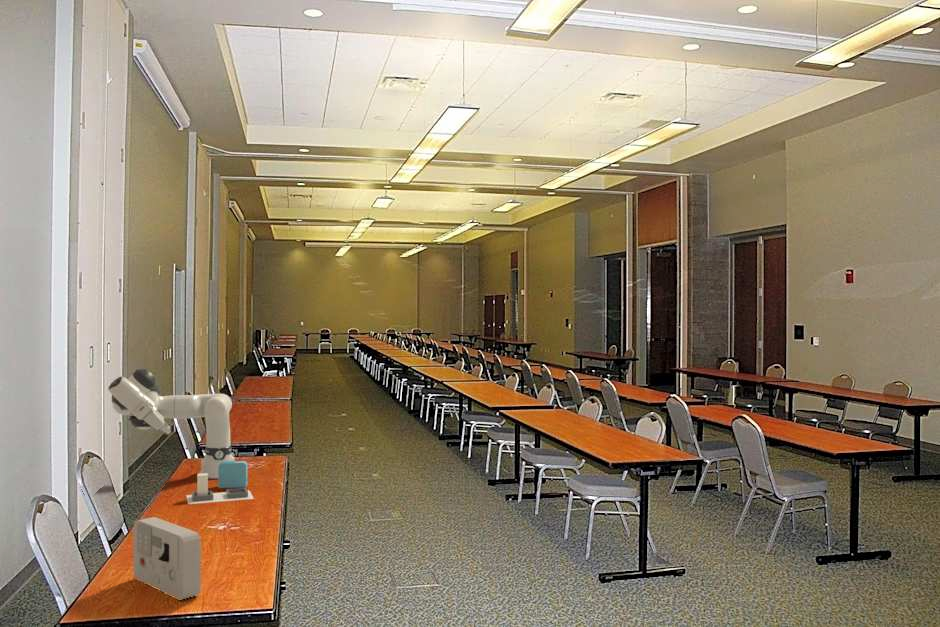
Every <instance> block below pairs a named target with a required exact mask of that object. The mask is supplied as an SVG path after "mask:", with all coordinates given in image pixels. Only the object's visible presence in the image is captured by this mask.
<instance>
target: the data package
mask: <svg viewBox="0 0 940 627" xmlns="http://www.w3.org/2000/svg"><path fill="white" fill-rule="evenodd" d="M248 465H249V464H248V462H247V461H246V460H234V461H223V462H221V463H220V464H219V466H218V478H217V479H218V481H217V483H218V484H217V487H218V489H224V488H225V489H240V488H246V487H247V486H248V475H249V474H248V472H249V471H248V468H249V467H248Z"/></svg>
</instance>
